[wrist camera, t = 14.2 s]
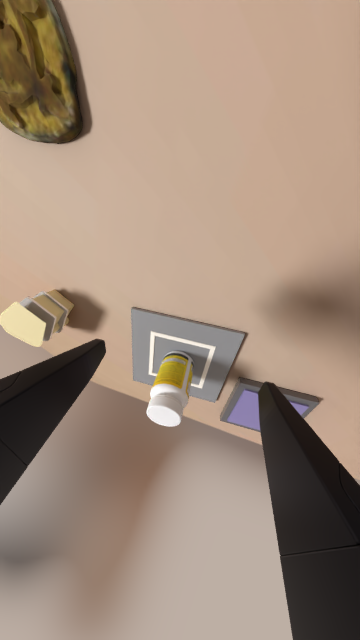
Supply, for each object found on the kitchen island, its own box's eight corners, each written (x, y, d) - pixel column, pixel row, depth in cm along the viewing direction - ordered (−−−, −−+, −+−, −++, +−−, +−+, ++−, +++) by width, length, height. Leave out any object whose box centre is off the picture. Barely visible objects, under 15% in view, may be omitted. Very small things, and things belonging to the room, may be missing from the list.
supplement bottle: (158, 356, 26) (134, 408, 19) (181, 345, 23) (164, 399, 16) (177, 376, 27) (161, 431, 20) (200, 367, 25) (193, 425, 18)
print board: (244, 332, 21) (245, 335, 20) (215, 400, 29) (214, 403, 28) (132, 307, 22) (130, 308, 22) (134, 378, 30) (132, 380, 30)
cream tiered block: (40, 262, 22) (-7, 274, 18) (95, 308, 24) (66, 329, 20) (24, 306, 27) (-16, 324, 23) (71, 341, 29) (43, 363, 25)
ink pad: (316, 396, 24) (320, 405, 23) (280, 432, 30) (283, 440, 29) (239, 377, 25) (240, 384, 24) (220, 415, 31) (220, 422, 30)
